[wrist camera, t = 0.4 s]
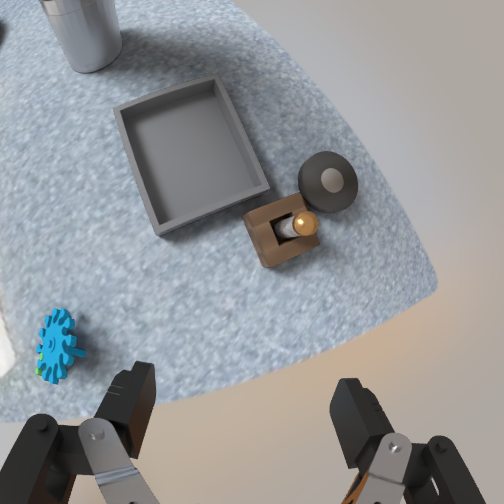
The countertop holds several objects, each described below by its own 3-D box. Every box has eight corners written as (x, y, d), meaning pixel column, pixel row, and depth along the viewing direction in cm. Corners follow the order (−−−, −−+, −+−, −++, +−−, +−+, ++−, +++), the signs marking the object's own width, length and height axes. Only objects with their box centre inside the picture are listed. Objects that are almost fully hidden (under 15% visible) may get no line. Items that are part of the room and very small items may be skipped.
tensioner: (230, 188, 37) (236, 179, 33) (328, 155, 41) (344, 144, 36) (262, 266, 38) (272, 267, 34) (356, 222, 41) (374, 219, 37)
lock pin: (265, 225, 38) (292, 216, 28) (281, 219, 38) (313, 207, 29) (272, 242, 38) (301, 239, 28) (288, 236, 38) (321, 230, 29)
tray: (117, 120, 34) (112, 108, 30) (215, 86, 37) (218, 73, 33) (158, 236, 35) (155, 234, 32) (262, 194, 38) (270, 188, 35)
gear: (59, 290, 31) (74, 352, 25) (93, 305, 35) (114, 362, 30) (26, 340, 30) (38, 400, 24) (58, 351, 35) (74, 406, 29)
